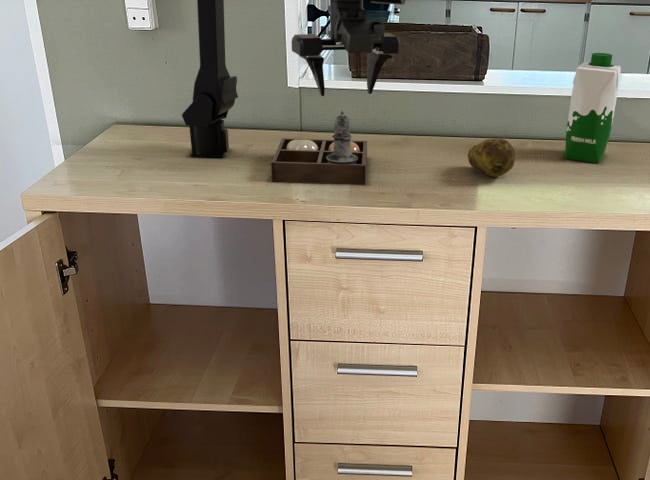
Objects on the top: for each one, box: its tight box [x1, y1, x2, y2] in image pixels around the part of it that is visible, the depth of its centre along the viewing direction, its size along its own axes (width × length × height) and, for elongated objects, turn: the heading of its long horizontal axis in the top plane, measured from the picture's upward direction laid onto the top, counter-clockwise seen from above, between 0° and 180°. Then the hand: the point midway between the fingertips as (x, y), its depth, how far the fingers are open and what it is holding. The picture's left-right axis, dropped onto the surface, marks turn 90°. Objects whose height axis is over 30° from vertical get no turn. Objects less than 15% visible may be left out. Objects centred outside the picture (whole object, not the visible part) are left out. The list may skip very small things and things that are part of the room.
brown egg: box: [328, 140, 360, 152], centre depth 148 cm, size 6×4×4 cm
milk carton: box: [564, 52, 622, 164], centre depth 154 cm, size 9×9×20 cm
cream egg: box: [286, 140, 319, 151], centre depth 147 cm, size 6×4×4 cm
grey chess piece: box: [326, 110, 358, 164], centre depth 139 cm, size 6×6×12 cm
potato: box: [467, 137, 517, 178], centre depth 143 cm, size 8×13×8 cm, turn 179°
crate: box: [270, 137, 368, 185], centre depth 144 cm, size 17×17×4 cm
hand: (346, 94), depth 139 cm, fingers open, 9 cm apart
